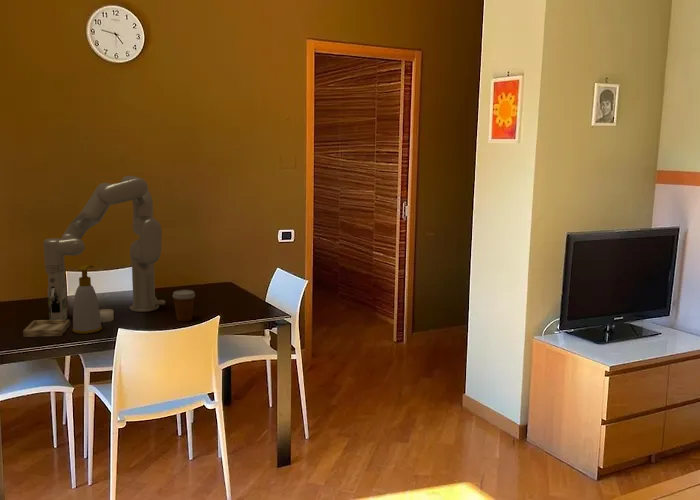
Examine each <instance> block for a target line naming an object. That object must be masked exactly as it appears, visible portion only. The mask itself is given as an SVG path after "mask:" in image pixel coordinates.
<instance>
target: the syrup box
mask: <svg viewBox="0 0 700 500" xmlns="http://www.w3.org/2000/svg"><path fill="white" fill-rule="evenodd" d="M50 295H51V294H50ZM55 296H57V294H56V295H55ZM56 300H57V297H56ZM67 300H68V299H67V285H66V286H65V287H64V288H63V295H62V296H59V303H60V312H59V313H52V309H51V298H50V296H49V292H48V291H47V304H48V305H47V306H48V318H49V319H48V320H68V302H67Z"/></svg>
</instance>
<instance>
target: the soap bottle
mask: <svg viewBox="0 0 700 500" xmlns="http://www.w3.org/2000/svg"><path fill="white" fill-rule="evenodd" d="M88 268H94V265H92V264H91V265H90V264H89V265H88V264H85V265H80V266H79V267H78V268H77V269H76V271H77V272H81V276H79V278H78V287H77V288H76V291H75V293H74V300H73V309H72V325H73V326H72V332H73V333H74V334H80V335H87V334H88V333H89V334H95V333H97V332H100V331H101V330H102V329H103V328H102V327H103V326H102V325H101V324H102V322H101V319H100V311H99V310H100V306H99V300H98V297H97V294H96V291H95V289H94V286H93V285H92V282H91V276H88ZM94 332H95V333H94Z"/></svg>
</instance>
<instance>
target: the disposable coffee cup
mask: <svg viewBox="0 0 700 500" xmlns="http://www.w3.org/2000/svg"><path fill="white" fill-rule="evenodd" d="M195 297H196V294H195V291H194V290H191V289H180V290H175V291H173V293H172V298H173V304H174V309H175V316H176V321H178V322H189V321H192V320H193V312H194V304H195V303H194V302H195Z"/></svg>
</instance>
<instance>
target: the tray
mask: <svg viewBox="0 0 700 500" xmlns="http://www.w3.org/2000/svg"><path fill="white" fill-rule="evenodd" d="M70 326H71V320H70V319H66V320H49V319H40V320H39V319H37V320H35V319H34V320H32V321H31V322H30V323H29V324H28V325H27V326H26V327H25V328H24V329H23V330H22V333H23V335H22V337H24V338H29V337H31V338H32V337H34V338H35V337H62V336H63V335H64V334H63V333H66V331H67V330H68V329H67V328H69V327H70Z"/></svg>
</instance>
